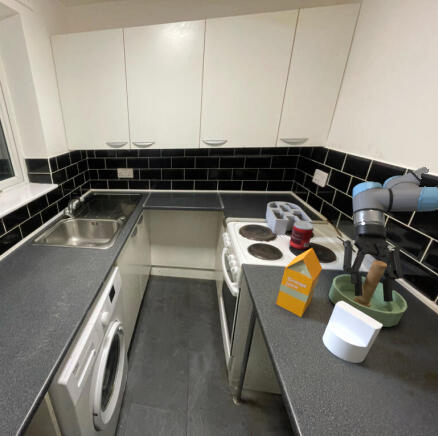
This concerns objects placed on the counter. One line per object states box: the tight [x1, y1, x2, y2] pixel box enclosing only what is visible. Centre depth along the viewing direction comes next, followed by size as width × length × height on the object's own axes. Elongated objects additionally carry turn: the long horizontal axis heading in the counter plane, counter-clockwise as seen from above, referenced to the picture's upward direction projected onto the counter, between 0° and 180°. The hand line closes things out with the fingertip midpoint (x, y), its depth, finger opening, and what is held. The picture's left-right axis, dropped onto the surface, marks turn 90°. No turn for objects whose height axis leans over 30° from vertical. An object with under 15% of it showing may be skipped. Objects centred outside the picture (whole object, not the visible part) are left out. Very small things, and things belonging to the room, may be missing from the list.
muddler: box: [354, 259, 387, 308], centre depth 71 cm, size 4×4×16 cm
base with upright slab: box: [322, 301, 384, 364], centre depth 60 cm, size 9×9×12 cm
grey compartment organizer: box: [265, 201, 314, 236], centre depth 128 cm, size 17×28×9 cm, turn 165°
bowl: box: [328, 274, 408, 328], centre depth 73 cm, size 17×17×6 cm
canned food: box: [289, 221, 315, 250], centre depth 107 cm, size 8×8×11 cm
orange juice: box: [275, 247, 323, 318], centre depth 72 cm, size 8×9×20 cm
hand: (373, 298), depth 69 cm, fingers open, 6 cm apart
